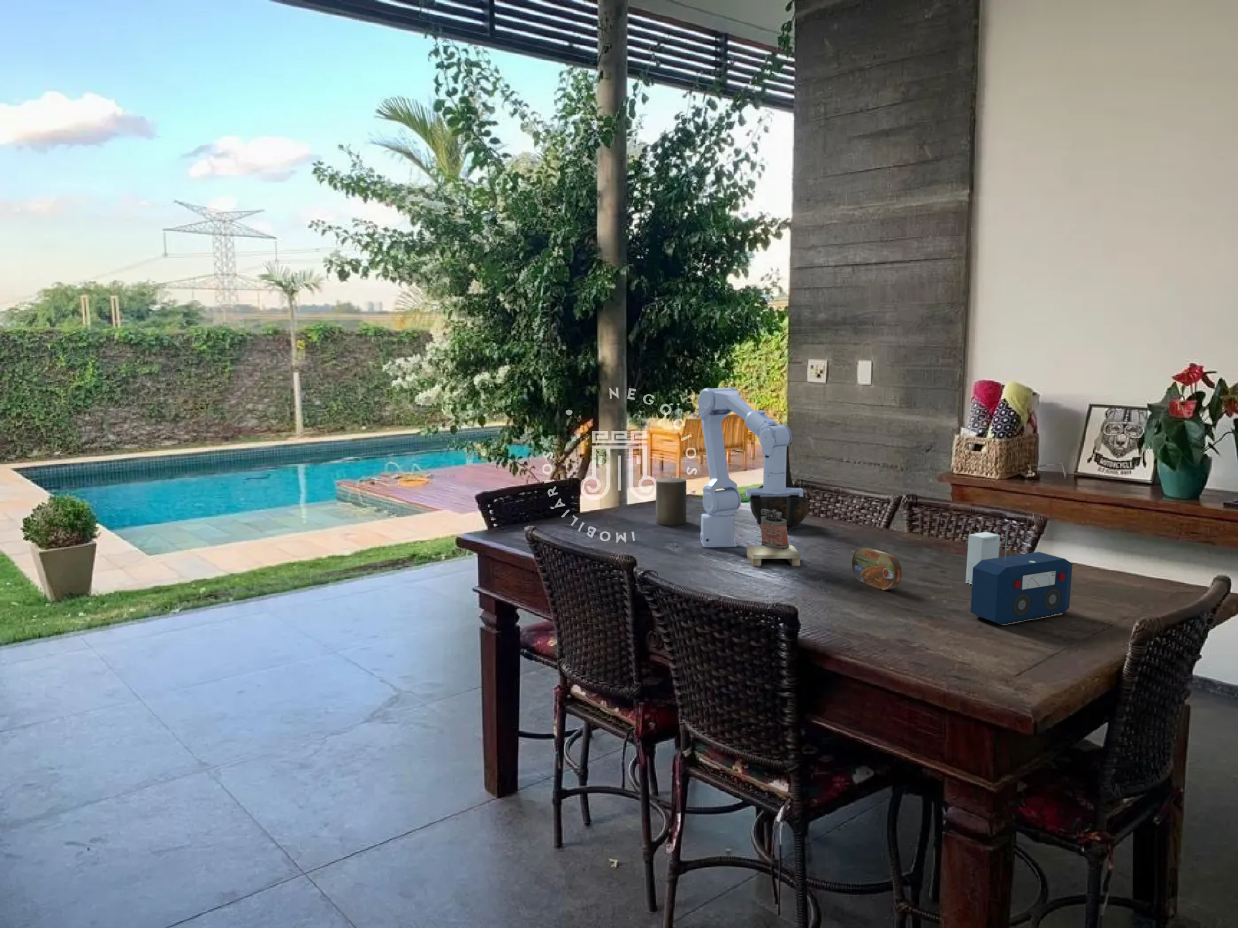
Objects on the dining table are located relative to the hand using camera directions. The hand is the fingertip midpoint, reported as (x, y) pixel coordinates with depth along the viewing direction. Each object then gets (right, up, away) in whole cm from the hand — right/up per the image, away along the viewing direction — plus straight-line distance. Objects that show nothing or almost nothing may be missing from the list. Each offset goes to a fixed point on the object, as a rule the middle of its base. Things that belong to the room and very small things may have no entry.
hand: (773, 523), depth 228 cm
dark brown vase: (+9, -4, +44) cm, 45 cm away
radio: (+44, -17, -44) cm, 64 cm away
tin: (+20, -13, -21) cm, 32 cm away
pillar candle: (-24, -3, +50) cm, 55 cm away
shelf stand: (0, -10, +1) cm, 10 cm away
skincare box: (+45, -13, -21) cm, 52 cm away
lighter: (+1, -6, +4) cm, 8 cm away
